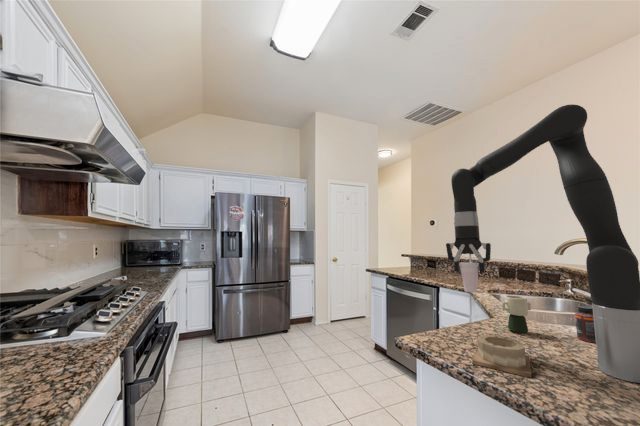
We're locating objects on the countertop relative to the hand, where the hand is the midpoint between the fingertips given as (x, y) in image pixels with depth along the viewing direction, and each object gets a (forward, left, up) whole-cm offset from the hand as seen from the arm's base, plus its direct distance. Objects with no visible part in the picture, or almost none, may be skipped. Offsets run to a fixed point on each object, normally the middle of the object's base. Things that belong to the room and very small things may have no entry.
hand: (469, 272), depth 93 cm
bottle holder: (-8, +11, -23) cm, 27 cm away
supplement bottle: (-32, -28, -24) cm, 49 cm away
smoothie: (0, 0, -6) cm, 6 cm away
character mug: (-12, -24, -24) cm, 36 cm away
